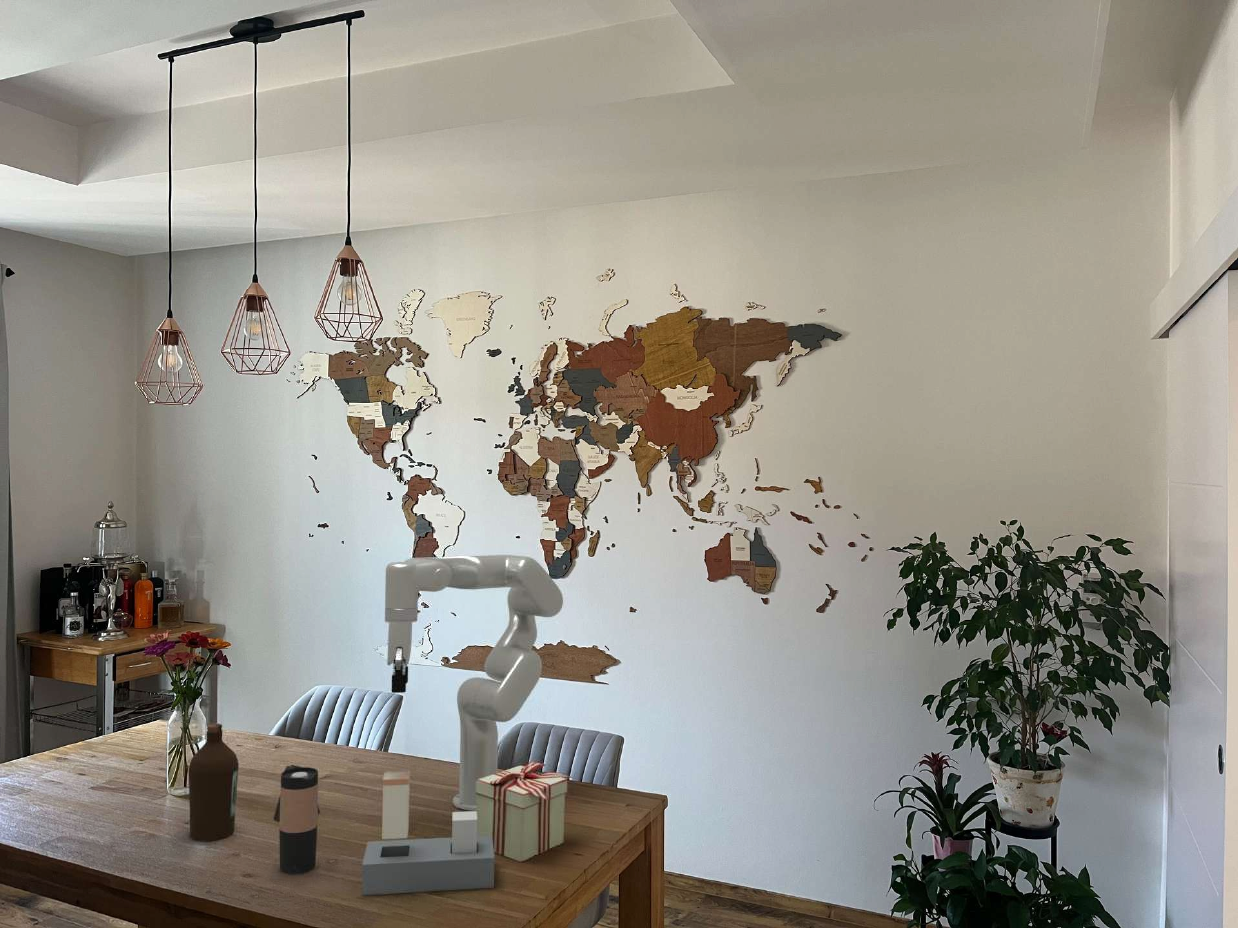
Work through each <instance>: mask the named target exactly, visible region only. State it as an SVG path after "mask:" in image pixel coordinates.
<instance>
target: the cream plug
mask: <svg viewBox="0 0 1238 928" xmlns="http://www.w3.org/2000/svg"><path fill="white" fill-rule="evenodd" d="M382 777H383V778H382V815H381V816H382V820H381V821H382V823H381V825H382V827H381V830H382V831H381V840H399V839H408V835H409V823H410V777H411V771H410V770H406V771H405V770H403V771H385V772H384V774H383V776H382Z"/></svg>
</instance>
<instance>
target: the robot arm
mask: <svg viewBox="0 0 1238 928" xmlns="http://www.w3.org/2000/svg"><path fill="white" fill-rule="evenodd" d="M446 588H453V589H458V590H485V589H499V588H501V589H502V588H509V591H508V593H507V599H506V601H507V606H508V614H509V616H508V617H509V618H508V625H507V627H506V629H505V631H504V632H503V634H502V635H501V637H500V638H499V640H498V641H497V643H496V644H495V646H494V647H493V648H492V649H491V651H490V653H489V654H488V656H487V658H486V660H485V661H484V672H485V674H486V676H488V677H489V679H488V678H484V677H471V678H468V679H466V680H465V681H463V683H461V684H460V686H459V688H458V691H457V693H456V702H457V710H458V716H459V729H460V730H459V731H460V734H459V735H460V738H459V739H460V742H459V785H458V786H459V788H458V789H459V791H458V794H456V795H455V796H454V797H453V799H452V805H454V807H455V808H457V809H459V808H460V809H461V810H463V811H477V794H476V780H478V779H481V778H484V777H487V776H490V775H493V774H496V773H498V753H499V752H498V750H499V749H498V748H499V747H498V746H499V745H498V744H499V743H498V742H499V733H498V732H499V731H498V725H497V723H507V722H509V721H511V720H512V719H513V718H515V716H517V714H518V713H519V711H520V710H521V708H523V705H524V704H525V703H526V701H527V699H528V698H529V696H530V695H531V693H532V692H533V690H534V689H535V687H536V685H537V684H538V682H539V680H540V677H541V675H542V670H543V669H542V668H543V663H542V659H541V657H540V655H539V653H537V652H536V651H534V650H532V649H533V647H534V645H535V643H536V641H537V637H538V629H537V623H536V617H542V618H552V617H555V616H557V615H558V614H559V613H560V612H561V610H562V608H563V605H564V596H563V593H562V591H561V589H560V588H559V586H558V585H557V584H556V581H554V580H553V578H552V577H551V576H550V574H549V573H548V572H547V571H546V570H545V568H544V567H543V566H542V565H541V564H540V563H539V562H538V561H537V560H536V559H535V558H533V557H530V556H524V555H523V556H522V555H512V554H496V555H495V554H494V555H489V554H488V555H464V556H461V555H459V556H458V555H457V556H437V557H435V556H433V557H411V558H407V559H405V560H404V561H394V562H389V563H388V564H386V567H385V587H384V589H385V591H384V592H385V595H384V598H385V599H384V602H385V603H384V622H385V623H389V624H388V633H387V635H388V636H387V661H386V662H387V666H391V664H392V675H391V693H393V694H395V693H396V694H397V693H398V694H399V693H406V691H407V684H408V683H409V666H408V664H409V662H410V660H411V659H410V658H411V652H412V640H413V623H416V622H418V608H419V602H418V601H419V592H428V593H429V592H431V593H435V592H440V591H443V590H444V589H446ZM492 679H493V680H492Z"/></svg>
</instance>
